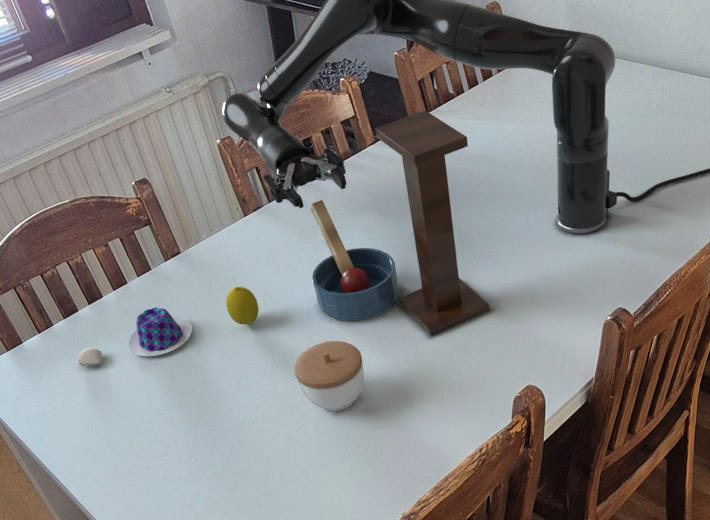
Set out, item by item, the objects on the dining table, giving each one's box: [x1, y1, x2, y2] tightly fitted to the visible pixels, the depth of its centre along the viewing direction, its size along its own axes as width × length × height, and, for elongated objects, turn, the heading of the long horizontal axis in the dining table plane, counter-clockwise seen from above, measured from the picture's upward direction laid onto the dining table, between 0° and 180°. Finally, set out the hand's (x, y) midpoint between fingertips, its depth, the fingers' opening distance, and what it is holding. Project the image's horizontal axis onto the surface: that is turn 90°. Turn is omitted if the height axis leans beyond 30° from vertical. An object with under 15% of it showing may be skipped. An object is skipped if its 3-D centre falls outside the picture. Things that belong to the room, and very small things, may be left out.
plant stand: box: [375, 110, 490, 337], centre depth 135 cm, size 13×12×32 cm
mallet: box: [310, 199, 370, 293], centre depth 149 cm, size 19×5×5 cm
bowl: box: [311, 247, 400, 321], centre depth 150 cm, size 15×15×6 cm
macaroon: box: [76, 347, 103, 367], centre depth 147 cm, size 4×5×2 cm
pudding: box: [127, 307, 193, 357], centre depth 149 cm, size 12×12×5 cm
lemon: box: [225, 286, 259, 326], centre depth 148 cm, size 6×6×8 cm
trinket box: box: [293, 340, 365, 412], centre depth 129 cm, size 11×11×9 cm
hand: (322, 193), depth 144 cm, fingers open, 8 cm apart
